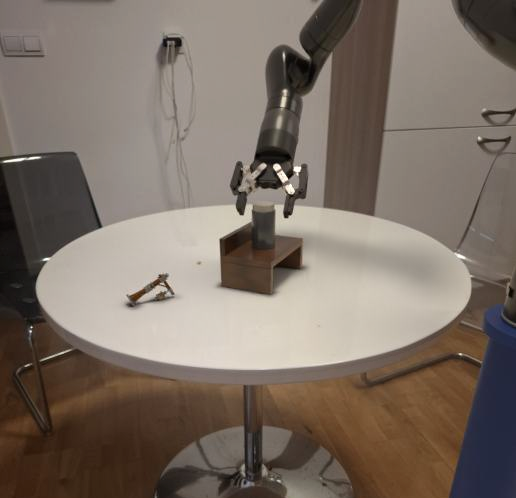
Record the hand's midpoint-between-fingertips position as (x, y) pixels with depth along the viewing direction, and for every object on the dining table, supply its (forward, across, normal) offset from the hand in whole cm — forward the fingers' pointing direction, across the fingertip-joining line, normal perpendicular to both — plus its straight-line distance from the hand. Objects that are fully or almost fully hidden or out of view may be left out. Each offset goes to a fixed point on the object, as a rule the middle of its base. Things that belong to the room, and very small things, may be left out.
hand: (262, 214), depth 90 cm
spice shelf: (+8, 0, +8) cm, 12 cm away
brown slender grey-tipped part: (+20, -16, -3) cm, 26 cm away
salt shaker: (+4, 0, +4) cm, 6 cm away
